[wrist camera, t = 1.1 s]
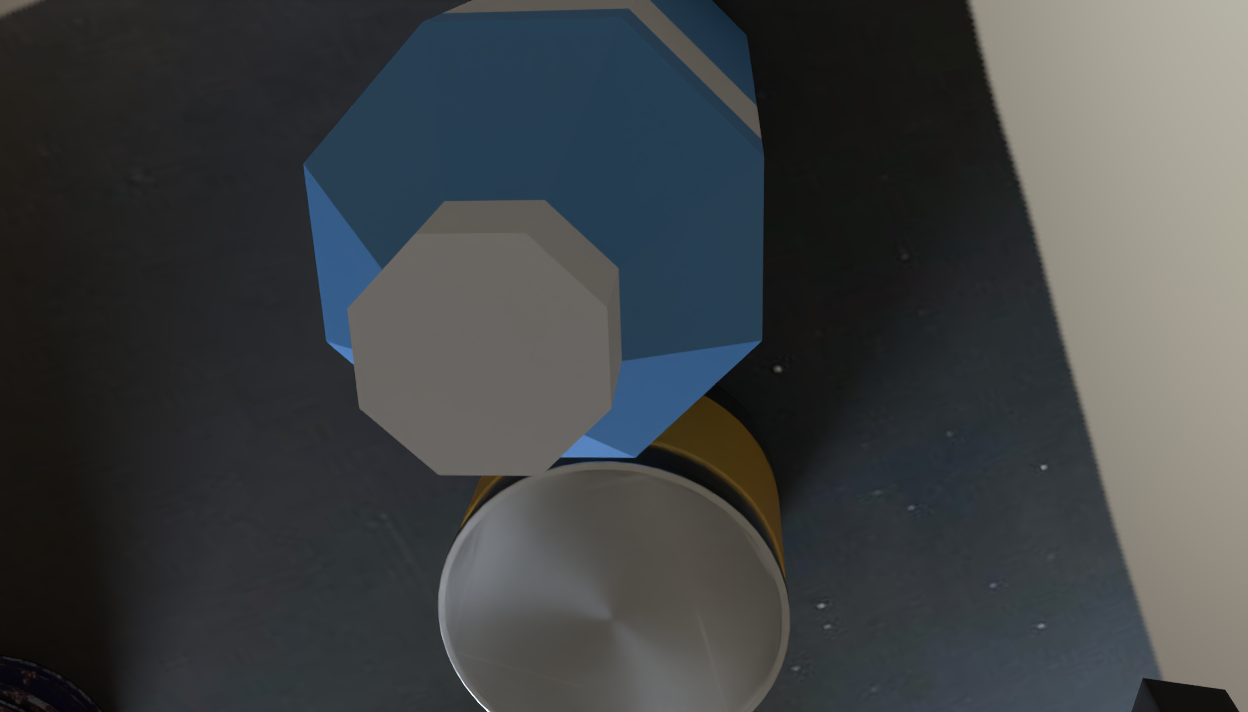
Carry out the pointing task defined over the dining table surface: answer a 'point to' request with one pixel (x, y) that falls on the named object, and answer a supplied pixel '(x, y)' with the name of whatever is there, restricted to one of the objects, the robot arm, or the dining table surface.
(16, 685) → the storage jar
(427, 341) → the water bottle
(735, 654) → the tin
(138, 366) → the dining table surface
